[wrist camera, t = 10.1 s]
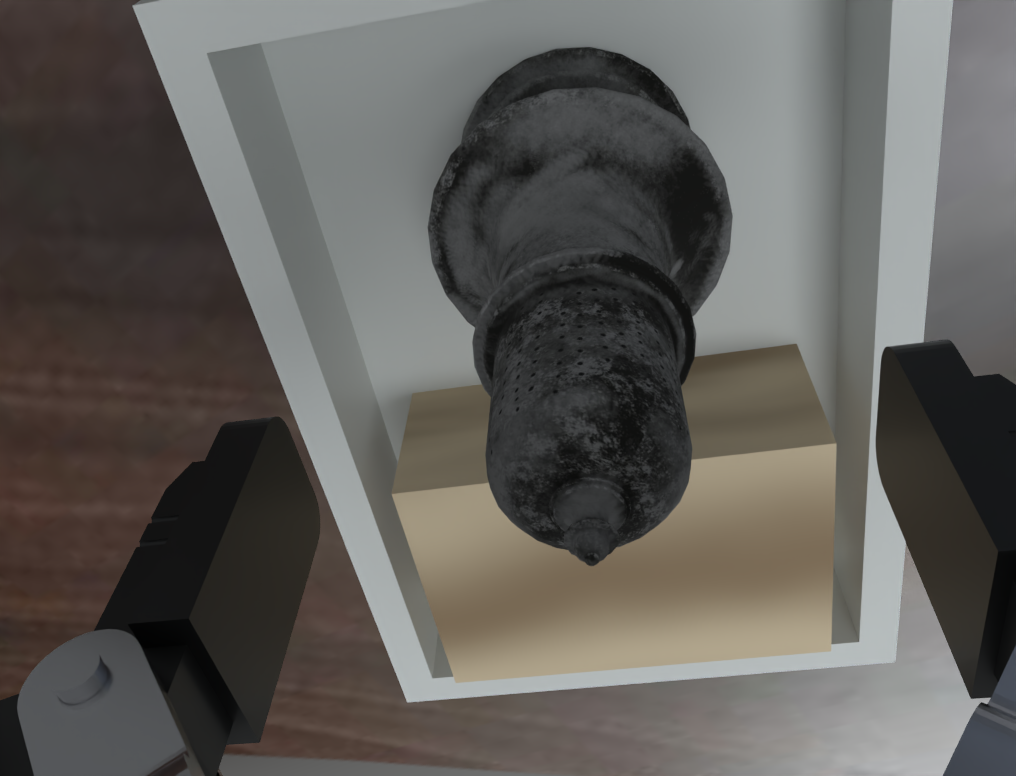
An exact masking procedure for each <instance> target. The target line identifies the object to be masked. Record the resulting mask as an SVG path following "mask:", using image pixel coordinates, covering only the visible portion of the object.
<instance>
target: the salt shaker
mask: <svg viewBox="0 0 1016 776" xmlns="http://www.w3.org/2000/svg"><path fill="white" fill-rule="evenodd" d="M732 219H733V214H732V210H731V205H730V200H729V196H728V191H727V186H726V181H725V178H724V176H723V174H722V172H721V170H720V169H719V167H718V165H717V163H716V161H715V160H714V158H713V156H712V154H711V152H710V151H709V149H708V147H707V145H706V144H705V143H704V142H703V141H702V140H701V139H700V138H699V137H698V136H697V135H696V134H695V133H694V132H693V131H692V130H691V129H690V125H689V120H688V118H687V116H686V114H685V112H684V110H683V109H682V107H681V105H680V103H679V101H678V100H677V98H676V96H675V94H674V93H673V91H672V90H671V89H670V88H669V87H668V86H667V85H666V84H665V83H664V82H663V81H662V80H661V79H660V78H659V77H658V76H657V75H656V74H655V73H654V72H652V71H651V70H650V69H649V68H647V67H645V66H643V65H641V64H639V63H637V62H636V61H634V60H632V59H630V58H628V57H626V56H624V55H623V54H619V53H614V52H610V51H605V50H601V49H596V48H592V47H582V48H563V49H555V50H551V51H548V52H545V53H542V54H539V55H536V56H533V57H530V58H527V59H525V60H523V61H522V62H520V63H519V64H517V65H516V66H514V67H512V68H511V69H509V70H508V71H506V72H505V73H503V74H502V75H500V76H499V77H498V78H497V79H496V80H495V81H494V82H493V83H492V84H491V86H490V87H489V88H488V89H487V90H486V91H485V92H484V94H483V95H482V96H481V97H480V98H479V99H478V100H477V102H476V104H475V106H474V108H473V110H472V112H471V114H470V116H469V119H468V121H467V123H466V125H465V127H464V129H463V135H462V140H461V144H460V145H459V146H458V147H457V148H456V150H455V151H454V152H453V153H452V154H451V155H450V157H449V159H448V161H447V163H446V166H445V168H444V170H443V172H442V174H441V176H440V178H439V180H438V182H437V184H436V186H435V188H434V191H433V197H432V204H431V210H430V216H429V222H428V235H429V243H430V251H431V259H432V264H433V266H434V269H435V271H436V273H437V276H438V278H439V280H440V282H441V285H442V287H443V289H444V292H445V294H446V296H447V297H448V298H449V299H450V301H451V302H452V303H453V304H454V306H455V307H456V308H457V309H458V311H459V312H460V313H461V314H462V316H463V317H464V318H465V319H466V321H467V322H468V323H470V324H471V325H472V326H474V327H475V331H474V335H473V340H472V346H473V357H474V367H475V369H476V371H477V374H478V376H479V379H480V381H481V383H482V386H483V388H484V390H485V391H486V392H487V393H488V395H489V396H490V397H491V401H490V412H489V422H488V433H487V443H486V453H485V457H486V468H487V477H488V481H489V485H490V489H491V491H492V494H493V496H494V498H495V500H496V503H497V505H498V507H499V508H500V509H501V511H502V512H503V513H504V514H505V515H506V516H507V517H508V519H509V520H510V521H511V522H512V523H513V524H514V525H516V526H517V527H518V528H520V529H521V530H522V531H524V532H525V533H527V534H528V535H530V536H531V537H533V538H534V539H536V540H537V541H539V542H542V543H545V544H547V545H550V546H552V547H555V548H559V549H565V550H568V551H569V552H570V553H571V554H572V555H575V556H577V558H578V559H579V560H580V561H583V562H585V563H586V564H587V565H589V566H595V565H597V564H598V563H599V562H600V561H602V560H604V559H605V558H606V556H607V555H609V554H611V553H612V552H613V551H614V549H615V548H616V547H621V546H623V545H626V544H628V543H630V542H633V541H635V540H637V539H640V538H641V537H643V536H644V535H646V534H647V533H648V532H650V531H651V530H653V529H654V528H655V527H657V526H658V525H659V524H660V523H661V522H663V521H664V520H665V519H666V518H667V517H668V516H669V514H670V513H671V512H672V511H673V510H674V508H675V507H676V506H677V505H678V504H679V503H680V501H681V499H682V496H683V494H684V492H685V490H686V487H687V485H688V483H689V476H690V470H691V459H692V443H691V437H690V432H689V427H688V421H687V416H686V410H685V405H684V399H683V394H682V389H681V386H682V385H683V384H684V382H685V381H686V378H687V376H688V373H689V371H690V368H691V366H692V363H693V361H694V358H695V346H696V329H695V325H694V321H693V316H694V315H695V314H696V313H697V312H698V310H699V309H700V308H701V306H702V305H703V303H704V302H705V301H706V299H707V298H708V297H709V295H710V294H711V293H712V291H713V290H714V288H715V287H716V286H717V283H718V281H719V278H720V276H721V273H722V270H723V268H724V265H725V263H726V260H727V257H728V255H729V252H730V242H731V230H732Z"/></svg>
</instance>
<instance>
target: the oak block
mask: <svg viewBox="0 0 1016 776" xmlns="http://www.w3.org/2000/svg"><path fill="white" fill-rule="evenodd" d="M681 389H682V394H683V399H684V405H685V410H686V416H687V421H688V427H689V432H690V437H691V443H692V459H691V470H690V476H689V483H688V485H687V487H686V490H685V492H684V494H683V496H682V499H681V501H680V503H679V504H678V505H677V506H676V507H675V508H674V510H673V511H672V512H671V513H670V514H669V516H668V517H667V518H666V519H665V520H664V521H663V522H661V523H660V524H659V525H658V526H657V527H655V528H654V529H653V530H651V531H650V532H648V533H647V534H646V535H644V536H643V537H641V538H640V539H637V540H635V541H633V542H630V543H628V544H626V545H623V546H621V547H616V548H615V549H614V551H613V552H612V553H611V554H609V555H607V556H606V558H605V559H604V560H602V561H600V562H599V563H598V564H597V565H595V566H589V565H587V564H586V563H585V562H583V561H580V560H579V559H578V558H577V556H575V555H572V554H571V553H570V552H569V551H568V550H565V549H559V548H555V547H552V546H550V545H547V544H545V543H542V542H539V541H537V540H536V539H534V538H533V537H531V536H530V535H528V534H527V533H525V532H524V531H522V530H521V529H520V528H518V527H517V526H516V525H514V524H513V523H512V522H511V521H510V520H509V519H508V517H507V516H506V515H505V514H504V513H503V512H502V511H501V509H500V508H499V507H498V505H497V503H496V500H495V498H494V496H493V494H492V491H491V489H490V485H489V481H488V477H487V468H486V457H485V453H486V443H487V433H488V422H489V412H490V401H491V397H490V396H489V395H488V393H487V392H486V391H485V390H484V388H483V386H482V384H480V385H472V386H465V387H457V388H449V389H441V390H434V391H426V392H418V393H412V398H411V403H410V408H409V412H408V417H407V422H406V427H405V432H404V436H403V441H402V446H401V451H400V455H399V460H398V465H397V470H396V474H395V479H394V484H393V489H392V497H393V500H394V503H395V506H396V509H397V512H398V515H399V518H400V521H401V524H402V527H403V530H404V533H405V535H406V538H407V541H408V544H409V547H410V550H411V553H412V556H413V559H414V562H415V565H416V568H417V571H418V574H419V577H420V580H421V583H422V585H423V588H424V591H425V594H426V597H427V600H428V603H429V606H430V609H431V612H432V615H433V618H434V621H435V624H436V627H437V630H438V632H439V635H440V638H441V641H442V644H443V647H444V650H445V653H446V656H447V659H448V662H449V665H450V668H451V671H452V674H453V677H454V680H455V682H456V683H462V682H474V681H486V680H498V679H509V678H521V677H533V676H545V675H557V674H569V673H581V672H592V671H604V670H616V669H628V668H640V667H652V666H663V665H675V664H687V663H699V662H711V661H723V660H734V659H746V658H758V657H770V656H782V655H794V654H805V653H817V652H829V651H831V640H832V601H833V562H834V523H835V485H836V446H837V443H836V441H835V438H834V436H833V433H832V431H831V428H830V426H829V423H828V421H827V418H826V416H825V413H824V411H823V408H822V406H821V403H820V401H819V398H818V396H817V393H816V391H815V388H814V386H813V383H812V381H811V378H810V376H809V373H808V371H807V368H806V366H805V363H804V361H803V358H802V356H801V353H800V351H799V348H798V346H797V344H791V345H783V346H775V347H767V348H760V349H752V350H744V351H736V352H729V353H721V354H713V355H705V356H697V357H695V358H694V361H693V363H692V366H691V368H690V371H689V373H688V376H687V378H686V381H685V382H684V384H683V385H682V386H681Z"/></svg>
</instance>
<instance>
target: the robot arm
mask: <svg viewBox="0 0 1016 776" xmlns="http://www.w3.org/2000/svg"><path fill="white" fill-rule="evenodd" d="M875 443H876V458H877V465H878V471H879V475H880V479H881V483H882V486H883V488H884V491H885V493H886V496H887V498H888V501H889V503H890V505H891V508H892V510H893V513H894V515H895V517H896V520H897V522H898V525H899V527H900V529H901V532H902V534H903V537H904V539H905V541H906V544H907V546H908V549H909V551H910V553H911V556H912V558H913V561H914V563H915V565H916V568H917V570H918V573H919V575H920V577H921V580H922V582H923V585H924V587H925V589H926V592H927V594H928V597H929V599H930V601H931V604H932V606H933V609H934V611H935V613H936V616H937V618H938V621H939V623H940V625H941V628H942V630H943V633H944V635H945V637H946V640H947V642H948V645H949V647H950V649H951V652H952V654H953V657H954V659H955V661H956V664H957V666H958V669H959V671H960V673H961V676H962V678H963V681H964V683H965V685H966V688H967V690H968V693H969V695H970V697H971V699H974V698H989V697H991V699H990V701H989V702H988V704H984V703H980V704H979V705H978V707H977V708H976V710H975V711H974V713H973V715H972V716H971V718H970V720H969V722H968V724H967V726H966V728H965V730H964V732H963V735H962V737H961V739H960V741H959V743H958V745H957V747H956V749H955V751H954V753H953V755H952V758H951V760H950V762H949V764H948V766H947V768H946V770H945V772H944V774H943V776H1016V385H1015V384H1014V383H1012V382H1011V381H1009V380H1008V379H1006V378H1005V377H1003V376H1002V375H1000V374H994V375H985V376H976V377H974V376H973V374H972V373H971V371H970V369H969V368H968V366H967V365H966V363H965V361H964V360H963V358H962V357H961V355H960V353H959V352H958V350H957V349H956V347H955V346H954V344H953V343H952V342H951V341H950V340H939V341H930V342H922V343H913V344H905V345H896V346H888V347H885V348H884V350H883V353H882V357H881V366H880V381H879V396H878V410H877V425H876V442H875ZM319 534H320V514H319V507H318V503H317V499H316V496H315V493H314V491H313V488H312V486H311V483H310V481H309V478H308V476H307V473H306V471H305V468H304V466H303V463H302V461H301V459H300V456H299V454H298V451H297V449H296V446H295V444H294V441H293V439H292V436H291V434H290V431H289V429H288V427H287V425H286V423H285V422H284V421H283V420H282V419H281V418H280V417H270V418H262V419H253V420H245V421H236V422H228V423H225V424H224V425H223V426H222V427H221V428H220V430H219V432H218V434H217V436H216V438H215V441H214V443H213V445H212V447H211V449H210V451H209V453H208V455H207V457H206V460H205V461H200V462H192V463H191V464H190V465H189V466H188V467H187V468H186V469H185V470H184V471H183V472H182V473H181V474H180V475H179V476H178V477H177V478H176V480H175V481H174V482H173V483H172V484H171V485H170V486H169V487H168V488H167V489H166V490H165V492H164V494H163V496H162V498H161V500H160V502H159V504H158V506H157V508H156V510H155V512H154V514H153V516H152V523H149V524H148V525H147V527H146V529H145V531H144V533H143V535H142V537H141V539H140V541H139V542H140V547H136V549H135V551H134V553H133V555H132V557H131V559H130V561H129V563H128V565H127V567H126V569H125V571H124V573H123V575H122V577H121V579H120V581H119V583H118V585H117V587H116V588H115V590H114V592H113V594H112V596H111V598H110V600H109V602H108V604H107V606H106V608H105V610H104V612H103V614H102V616H101V618H100V620H99V622H98V624H97V626H96V628H95V630H94V631H93V632H89V633H86V634H83V635H81V636H78V637H76V638H74V639H72V640H70V641H68V642H66V643H64V644H63V645H61V646H60V647H58V648H57V649H55V650H54V651H53V652H51V653H50V654H49V655H48V656H46V657H45V658H44V659H43V660H42V661H41V662H40V663H39V664H38V665H37V666H36V668H35V669H34V670H33V671H32V672H31V674H30V675H29V677H28V678H27V679H26V681H25V683H24V685H23V687H22V689H21V691H20V694H17V695H14V696H11V697H9V698H6V699H3V700H0V776H223V775H222V774H221V772H220V770H219V769H218V768H219V765H220V762H221V759H222V756H223V753H224V750H225V747H226V745H229V744H244V743H259V742H260V739H261V736H262V733H263V729H264V726H265V722H266V719H267V715H268V712H269V709H270V705H271V702H272V698H273V695H274V691H275V688H276V685H277V681H278V678H279V674H280V671H281V667H282V664H283V661H284V657H285V654H286V650H287V647H288V643H289V640H290V637H291V633H292V630H293V626H294V623H295V619H296V616H297V613H298V609H299V606H300V602H301V599H302V595H303V592H304V589H305V585H306V582H307V578H308V575H309V571H310V568H311V565H312V561H313V558H314V554H315V551H316V547H317V544H318V540H319Z"/></svg>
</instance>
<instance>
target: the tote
mask: <svg viewBox="0 0 1016 776" xmlns="http://www.w3.org/2000/svg"><path fill="white" fill-rule="evenodd" d="M133 8H134V11H135V14H136V16H137V19H138V21H139V24H140V26H141V29H142V31H143V34H144V36H145V39H146V41H147V44H148V46H149V49H150V52H151V54H152V57H153V59H154V62H155V64H156V67H157V69H158V72H159V74H160V77H161V79H162V82H163V84H164V87H165V90H166V92H167V95H168V97H169V100H170V102H171V105H172V107H173V110H174V112H175V115H176V117H177V120H178V122H179V125H180V128H181V130H182V133H183V135H184V138H185V140H186V143H187V145H188V148H189V150H190V153H191V155H192V158H193V160H194V163H195V166H196V168H197V171H198V173H199V176H200V178H201V181H202V183H203V186H204V188H205V191H206V193H207V196H208V198H209V201H210V204H211V206H212V209H213V211H214V214H215V216H216V219H217V221H218V224H219V226H220V229H221V231H222V234H223V236H224V239H225V242H226V244H227V247H228V249H229V252H230V254H231V257H232V259H233V262H234V264H235V267H236V269H237V272H238V274H239V277H240V280H241V282H242V285H243V287H244V290H245V292H246V295H247V297H248V300H249V302H250V305H251V307H252V310H253V312H254V315H255V318H256V320H257V323H258V325H259V328H260V330H261V333H262V335H263V338H264V340H265V343H266V345H267V348H268V350H269V353H270V356H271V358H272V361H273V363H274V366H275V368H276V371H277V373H278V376H279V378H280V381H281V383H282V386H283V388H284V391H285V394H286V396H287V399H288V401H289V404H290V406H291V409H292V411H293V414H294V416H295V419H296V421H297V424H298V426H299V429H300V432H301V434H302V437H303V439H304V442H305V444H306V447H307V449H308V452H309V454H310V457H311V459H312V462H313V464H314V467H315V470H316V472H317V475H318V477H319V480H320V482H321V485H322V487H323V490H324V492H325V495H326V497H327V500H328V502H329V505H330V508H331V510H332V513H333V515H334V518H335V520H336V523H337V525H338V528H339V530H340V533H341V535H342V538H343V540H344V543H345V546H346V548H347V551H348V553H349V556H350V558H351V561H352V563H353V566H354V568H355V571H356V573H357V576H358V578H359V581H360V584H361V586H362V589H363V591H364V594H365V596H366V599H367V601H368V604H369V606H370V609H371V611H372V614H373V616H374V619H375V622H376V624H377V627H378V629H379V632H380V634H381V637H382V639H383V642H384V644H385V647H386V649H387V652H388V654H389V657H390V660H391V662H392V665H393V667H394V670H395V672H396V675H397V677H398V680H399V682H400V685H401V687H402V690H403V692H404V695H405V698H406V700H407V702H418V701H430V700H442V699H455V698H467V697H479V696H491V695H503V694H515V693H528V692H540V691H552V690H564V689H576V688H588V687H601V686H613V685H625V684H637V683H649V682H661V681H674V680H686V679H698V678H710V677H722V676H734V675H747V674H759V673H771V672H783V671H795V670H807V669H820V668H832V667H844V666H856V665H868V664H881V663H893V662H895V660H896V648H897V637H898V626H899V614H900V603H901V591H902V580H903V568H904V557H905V546H906V541H905V539H904V537H903V534H902V532H901V529H900V527H899V525H898V522H897V520H896V517H895V515H894V513H893V510H892V508H891V505H890V503H889V501H888V498H887V496H886V493H885V491H884V488H883V486H882V483H881V479H880V475H879V471H878V465H877V458H876V443H875V442H876V425H877V410H878V396H879V381H880V366H881V357H882V353H883V350H884V348H885V347H888V346H896V345H905V344H913V343H922V342H923V340H924V328H925V317H926V305H927V294H928V283H929V271H930V260H931V248H932V237H933V225H934V214H935V202H936V191H937V180H938V168H939V157H940V145H941V134H942V122H943V111H944V100H945V88H946V77H947V65H948V54H949V42H950V31H951V19H952V8H953V0H140V1H139V2H137V3H136V4H134V5H133ZM582 47H592V48H596V49H601V50H605V51H610V52H614V53H619V54H623V55H624V56H626V57H628V58H630V59H632V60H634V61H636V62H637V63H639V64H641V65H643V66H645V67H647V68H649V69H650V70H651V71H652V72H654V73H655V74H656V75H657V76H658V77H659V78H660V79H661V80H662V81H663V82H664V83H665V84H666V85H667V86H668V87H669V88H670V89H671V90H672V91H673V93H674V94H675V96H676V98H677V100H678V101H679V103H680V105H681V107H682V109H683V110H684V112H685V114H686V116H687V118H688V120H689V125H690V129H691V130H692V131H693V132H694V133H695V134H696V135H697V136H698V137H699V138H700V139H701V140H702V141H703V142H704V143H705V144H706V145H707V147H708V149H709V151H710V152H711V154H712V156H713V158H714V160H715V161H716V163H717V165H718V167H719V169H720V170H721V172H722V174H723V176H724V178H725V181H726V186H727V191H728V196H729V200H730V205H731V210H732V214H733V219H732V230H731V242H730V252H729V255H728V257H727V260H726V263H725V265H724V268H723V270H722V273H721V276H720V278H719V281H718V283H717V286H716V287H715V288H714V290H713V291H712V293H711V294H710V295H709V297H708V298H707V299H706V301H705V302H704V303H703V305H702V306H701V308H700V309H699V310H698V312H697V313H696V314H695V315H694V316H693V321H694V325H695V329H696V346H695V357H697V356H705V355H713V354H721V353H729V352H736V351H744V350H752V349H760V348H767V347H775V346H783V345H791V344H797V346H798V348H799V351H800V353H801V356H802V358H803V361H804V363H805V366H806V368H807V371H808V373H809V376H810V378H811V381H812V383H813V386H814V388H815V391H816V393H817V396H818V398H819V401H820V403H821V406H822V408H823V411H824V413H825V416H826V418H827V421H828V423H829V426H830V428H831V431H832V433H833V436H834V438H835V441H836V443H837V446H836V485H835V523H834V562H833V601H832V640H831V651H829V652H817V653H805V654H794V655H782V656H770V657H758V658H746V659H734V660H723V661H711V662H699V663H687V664H675V665H663V666H652V667H640V668H628V669H616V670H604V671H592V672H581V673H569V674H557V675H545V676H533V677H521V678H509V679H498V680H486V681H474V682H462V683H456V682H455V680H454V677H453V674H452V671H451V668H450V665H449V662H448V659H447V656H446V653H445V650H444V647H443V644H442V641H441V638H440V635H439V632H438V630H437V627H436V624H435V621H434V618H433V615H432V612H431V609H430V606H429V603H428V600H427V597H426V594H425V591H424V588H423V585H422V583H421V580H420V577H419V574H418V571H417V568H416V565H415V562H414V559H413V556H412V553H411V550H410V547H409V544H408V541H407V538H406V535H405V533H404V530H403V527H402V524H401V521H400V518H399V515H398V512H397V509H396V506H395V503H394V500H393V497H392V489H393V484H394V479H395V474H396V470H397V465H398V460H399V455H400V451H401V446H402V441H403V436H404V432H405V427H406V422H407V417H408V412H409V408H410V403H411V398H412V393H418V392H426V391H434V390H441V389H449V388H457V387H465V386H472V385H480V384H482V383H481V381H480V379H479V376H478V374H477V371H476V369H475V367H474V357H473V346H472V340H473V335H474V331H475V327H474V326H472V325H471V324H470V323H468V322H467V321H466V319H465V318H464V317H463V316H462V314H461V313H460V312H459V311H458V309H457V308H456V307H455V306H454V304H453V303H452V302H451V301H450V299H449V298H448V297H447V296H446V294H445V292H444V289H443V287H442V285H441V282H440V280H439V278H438V276H437V273H436V271H435V269H434V266H433V264H432V259H431V251H430V243H429V235H428V222H429V216H430V210H431V204H432V197H433V191H434V188H435V186H436V184H437V182H438V180H439V178H440V176H441V174H442V172H443V170H444V168H445V166H446V163H447V161H448V159H449V157H450V155H451V154H452V153H453V152H454V151H455V150H456V148H457V147H458V146H459V145H460V144H461V140H462V135H463V129H464V127H465V125H466V123H467V121H468V119H469V116H470V114H471V112H472V110H473V108H474V106H475V104H476V102H477V100H478V99H479V98H480V97H481V96H482V95H483V94H484V92H485V91H486V90H487V89H488V88H489V87H490V86H491V84H492V83H493V82H494V81H495V80H496V79H497V78H498V77H499V76H500V75H502V74H503V73H505V72H506V71H508V70H509V69H511V68H512V67H514V66H516V65H517V64H519V63H520V62H522V61H523V60H525V59H527V58H530V57H533V56H536V55H539V54H542V53H545V52H548V51H551V50H555V49H563V48H582Z"/></svg>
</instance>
